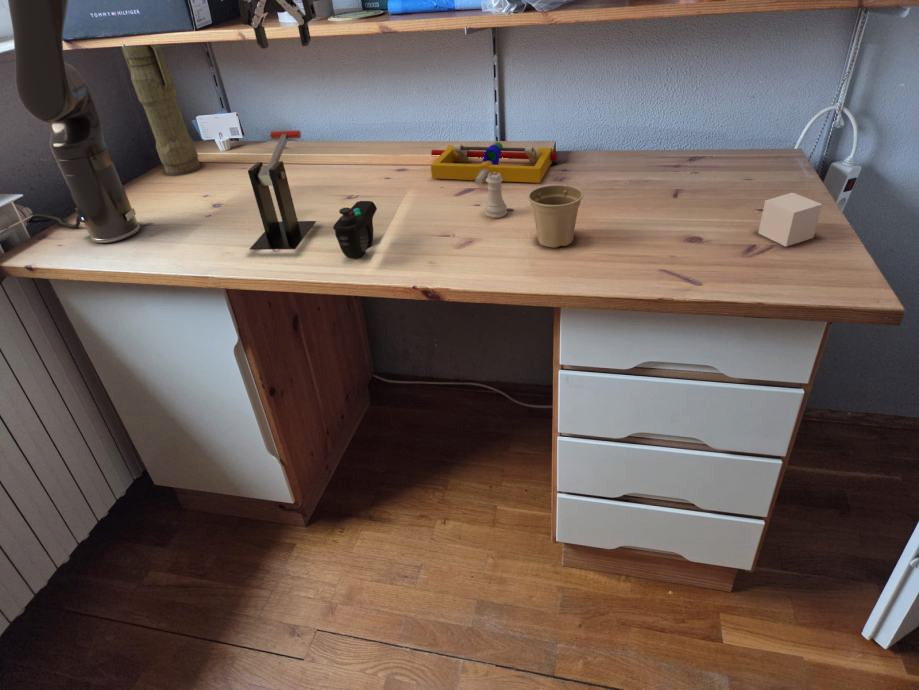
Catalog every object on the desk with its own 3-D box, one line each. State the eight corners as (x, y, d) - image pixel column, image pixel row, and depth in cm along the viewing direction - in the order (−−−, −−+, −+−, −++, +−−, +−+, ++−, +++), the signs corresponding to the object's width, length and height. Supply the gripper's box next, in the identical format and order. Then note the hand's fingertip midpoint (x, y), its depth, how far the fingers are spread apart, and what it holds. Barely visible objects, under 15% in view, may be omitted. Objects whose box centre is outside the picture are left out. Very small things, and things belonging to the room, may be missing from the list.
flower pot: (530, 228, 116) (530, 184, 111) (582, 228, 114) (583, 183, 109) (526, 252, 109) (525, 205, 104) (581, 252, 107) (583, 205, 102)
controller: (338, 269, 109) (326, 216, 104) (363, 237, 119) (353, 187, 113) (361, 270, 108) (351, 216, 103) (384, 238, 118) (376, 187, 112)
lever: (275, 138, 122) (270, 127, 120) (302, 137, 121) (298, 126, 119) (253, 186, 114) (248, 175, 112) (282, 185, 113) (277, 174, 111)
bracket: (275, 227, 127) (255, 155, 118) (317, 226, 125) (300, 153, 116) (251, 255, 117) (227, 178, 108) (296, 254, 115) (276, 177, 107)
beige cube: (784, 225, 109) (792, 192, 106) (813, 238, 105) (822, 204, 101) (758, 233, 108) (765, 200, 104) (785, 246, 103) (794, 212, 99)
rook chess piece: (488, 208, 125) (485, 170, 121) (509, 210, 124) (508, 170, 119) (482, 218, 122) (479, 178, 117) (504, 219, 121) (502, 179, 116)
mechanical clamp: (433, 132, 149) (558, 134, 140) (435, 158, 153) (557, 161, 144) (404, 158, 135) (540, 163, 126) (407, 186, 139) (540, 192, 130)
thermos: (190, 176, 157) (137, 21, 136) (153, 174, 160) (96, 23, 140) (212, 163, 163) (165, 14, 143) (176, 162, 167) (125, 16, 147)
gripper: (218, -45, 112) (244, 52, 122) (293, -52, 110) (313, 48, 120) (236, -48, 118) (259, 45, 128) (307, -55, 116) (325, 41, 126)
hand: (285, 46), depth 124 cm, fingers open, 8 cm apart
